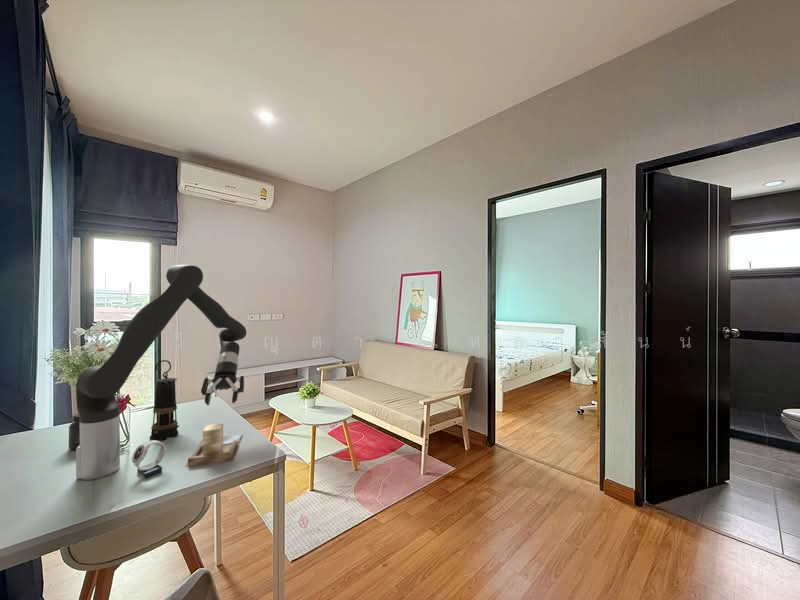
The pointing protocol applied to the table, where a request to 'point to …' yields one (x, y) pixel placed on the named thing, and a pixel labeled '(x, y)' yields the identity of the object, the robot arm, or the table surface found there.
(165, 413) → the lantern
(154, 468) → the watch
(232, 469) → the table surface
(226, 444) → the brown wooden flat tray
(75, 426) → the supplement bottle
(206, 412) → the table surface
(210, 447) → the birch block
